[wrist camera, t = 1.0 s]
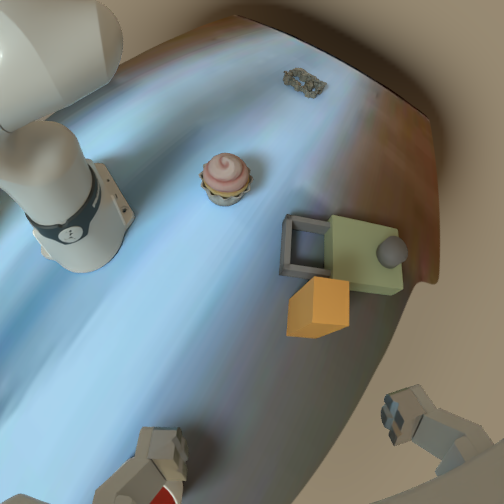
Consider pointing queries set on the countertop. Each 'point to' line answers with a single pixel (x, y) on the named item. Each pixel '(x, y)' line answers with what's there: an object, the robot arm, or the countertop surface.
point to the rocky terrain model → (304, 77)
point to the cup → (168, 492)
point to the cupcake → (225, 179)
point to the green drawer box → (350, 253)
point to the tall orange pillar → (319, 308)
